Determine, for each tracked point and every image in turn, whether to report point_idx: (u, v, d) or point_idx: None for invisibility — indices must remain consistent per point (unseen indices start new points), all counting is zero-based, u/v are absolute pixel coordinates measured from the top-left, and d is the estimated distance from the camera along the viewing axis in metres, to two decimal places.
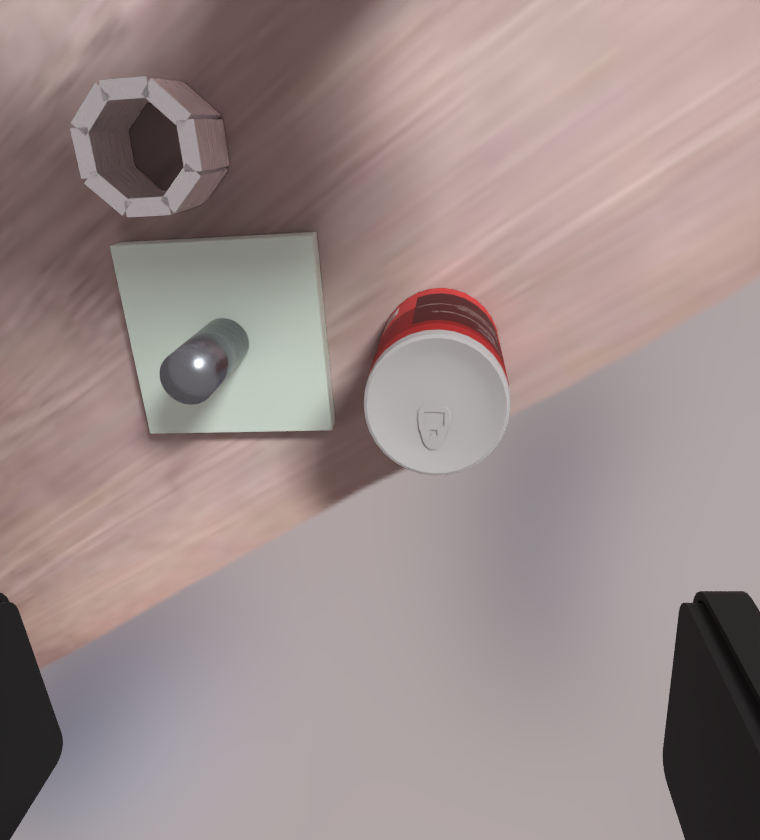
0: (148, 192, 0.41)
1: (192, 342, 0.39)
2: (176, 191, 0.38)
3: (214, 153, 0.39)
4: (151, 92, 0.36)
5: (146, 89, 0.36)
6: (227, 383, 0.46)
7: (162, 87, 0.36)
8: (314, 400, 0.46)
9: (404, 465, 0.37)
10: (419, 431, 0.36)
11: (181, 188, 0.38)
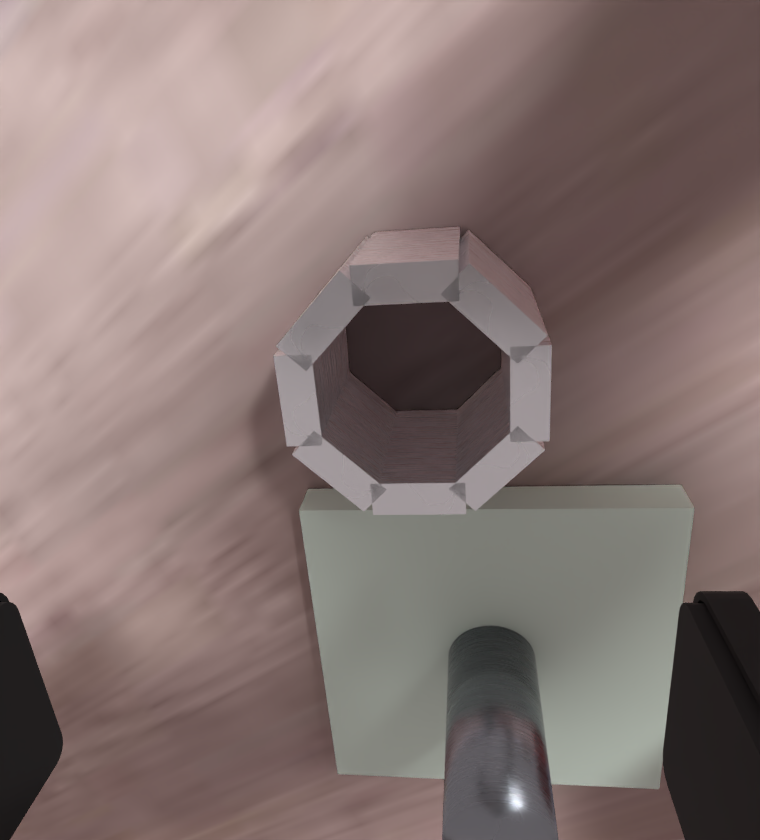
0: (388, 433, 0.22)
1: (497, 751, 0.20)
2: (486, 474, 0.18)
3: None
4: (465, 292, 0.16)
5: (454, 285, 0.16)
6: None
7: (489, 280, 0.16)
8: (637, 747, 0.26)
9: None
10: None
11: (498, 470, 0.18)
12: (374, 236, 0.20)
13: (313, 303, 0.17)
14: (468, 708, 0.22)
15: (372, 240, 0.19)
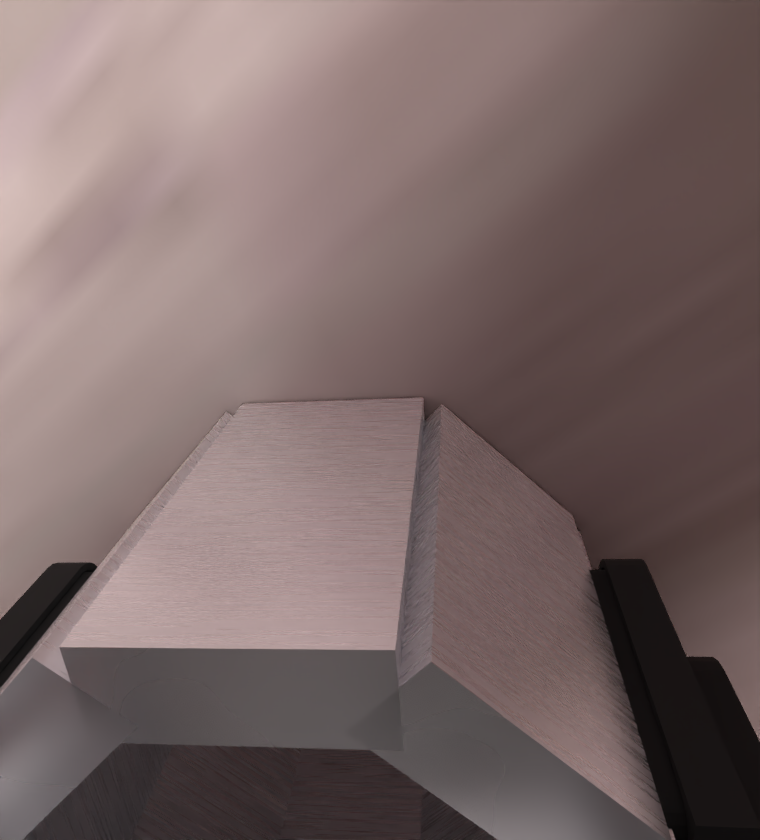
0: (279, 814, 0.10)
1: None
2: None
3: None
4: (420, 732, 0.05)
5: (386, 714, 0.05)
6: None
7: (494, 694, 0.05)
8: None
9: None
10: None
11: None
12: (231, 428, 0.09)
13: None
14: None
15: (215, 452, 0.08)
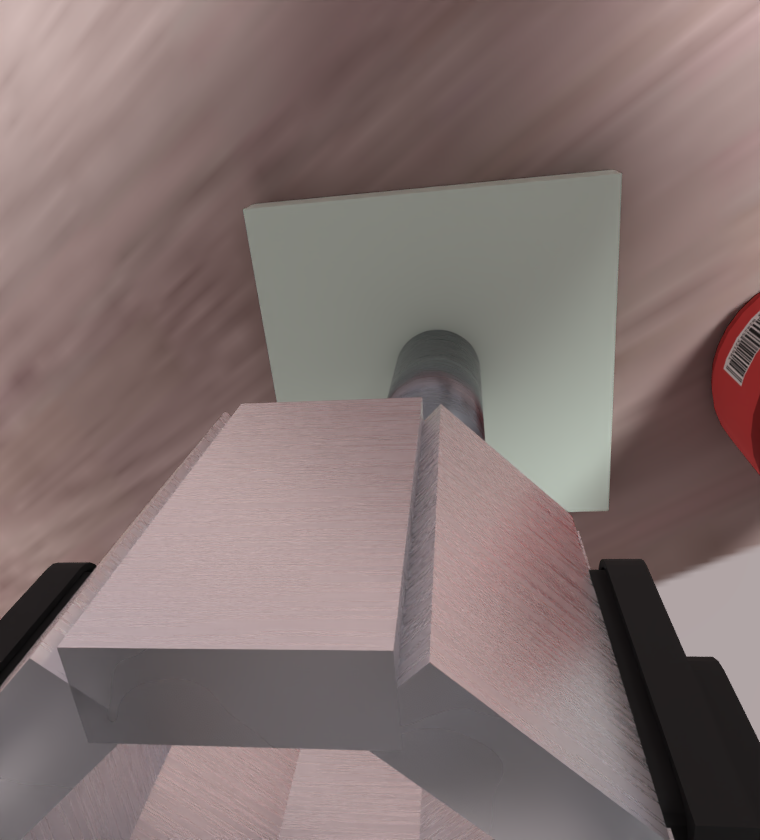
0: (278, 814, 0.10)
1: (428, 382, 0.21)
2: None
3: None
4: (418, 733, 0.05)
5: (384, 715, 0.05)
6: None
7: (492, 695, 0.05)
8: (584, 463, 0.27)
9: None
10: None
11: None
12: (230, 428, 0.09)
13: None
14: (406, 370, 0.22)
15: (214, 453, 0.08)
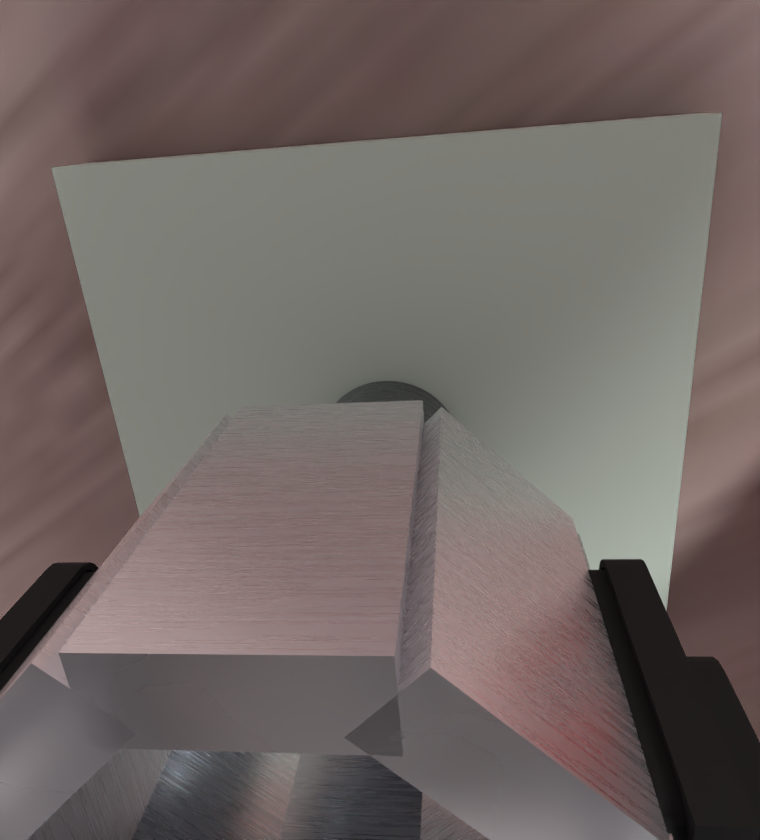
0: (279, 817, 0.10)
1: None
2: None
3: None
4: (420, 738, 0.05)
5: (386, 720, 0.05)
6: None
7: (494, 700, 0.05)
8: None
9: None
10: None
11: None
12: (231, 431, 0.09)
13: None
14: None
15: (215, 456, 0.08)
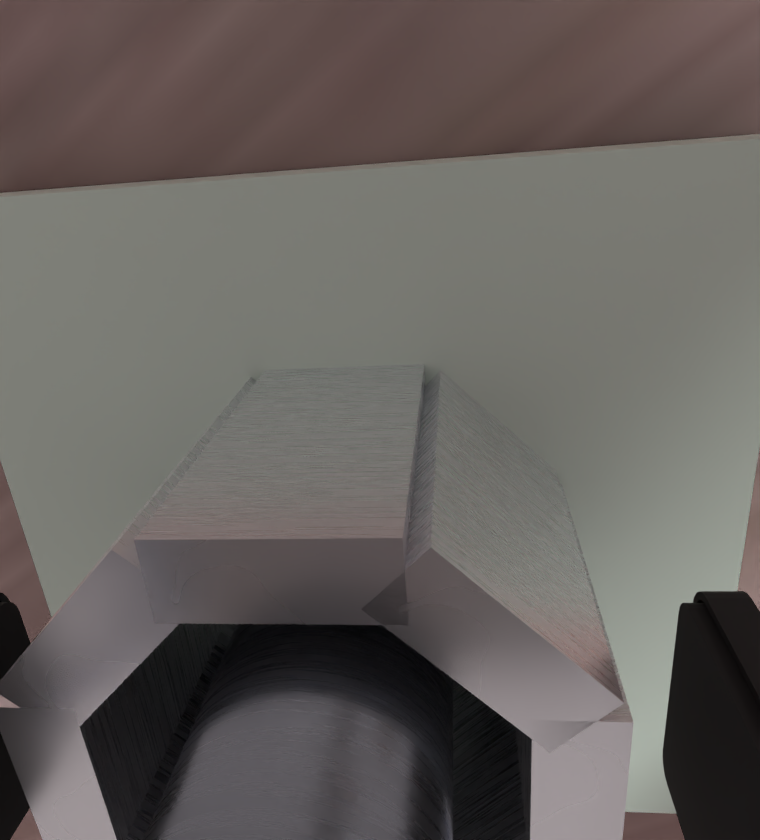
0: None
1: (287, 723, 0.07)
2: None
3: None
4: (422, 608, 0.07)
5: (395, 593, 0.07)
6: None
7: (481, 578, 0.07)
8: (661, 733, 0.13)
9: None
10: None
11: None
12: (257, 388, 0.10)
13: (62, 612, 0.07)
14: (257, 624, 0.09)
15: (245, 407, 0.10)
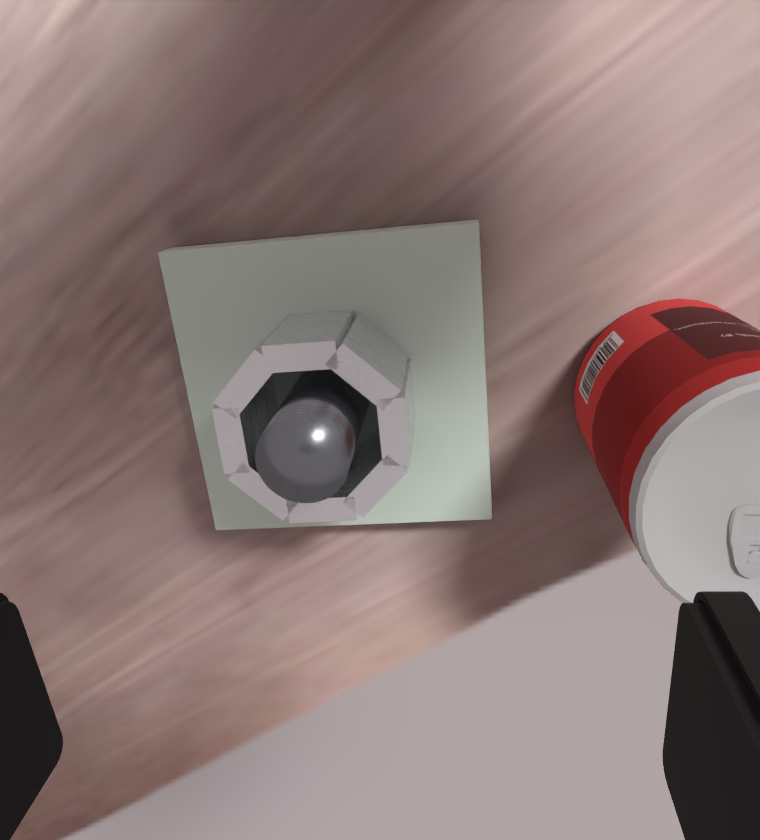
0: None
1: (304, 399, 0.24)
2: (368, 490, 0.25)
3: (411, 419, 0.27)
4: (341, 362, 0.24)
5: (334, 358, 0.24)
6: None
7: (358, 354, 0.24)
8: (467, 475, 0.30)
9: None
10: (730, 548, 0.20)
11: (376, 486, 0.25)
12: (289, 318, 0.27)
13: (238, 372, 0.24)
14: (293, 391, 0.26)
15: (286, 322, 0.27)
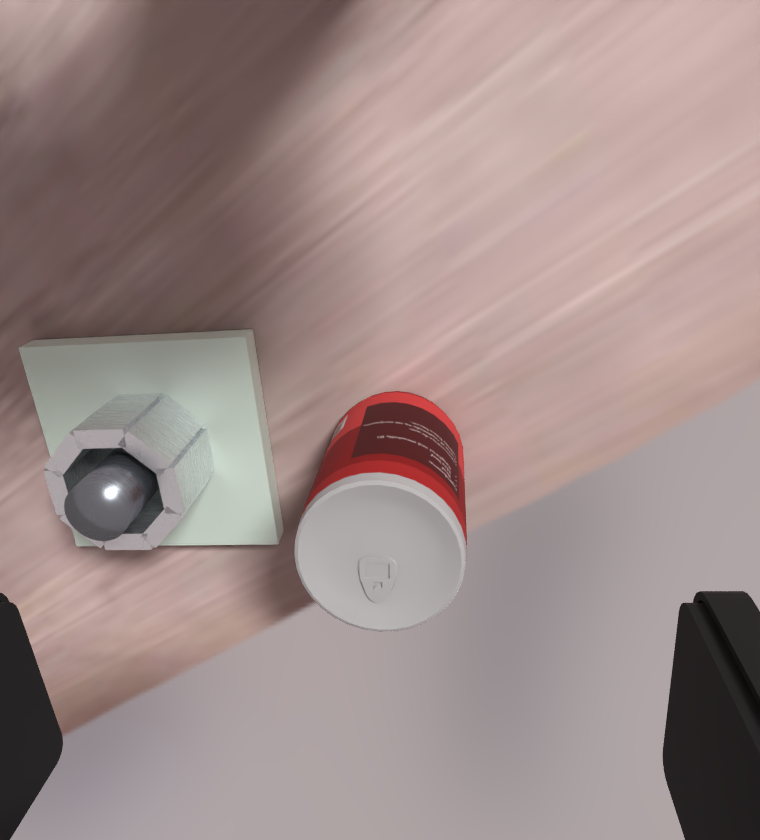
0: None
1: (104, 468, 0.34)
2: (157, 529, 0.36)
3: (197, 476, 0.37)
4: (128, 443, 0.34)
5: (123, 440, 0.34)
6: None
7: (140, 438, 0.34)
8: (256, 512, 0.41)
9: (345, 620, 0.31)
10: (361, 584, 0.31)
11: (162, 527, 0.36)
12: (113, 399, 0.38)
13: (59, 447, 0.34)
14: (106, 457, 0.36)
15: (107, 404, 0.37)
